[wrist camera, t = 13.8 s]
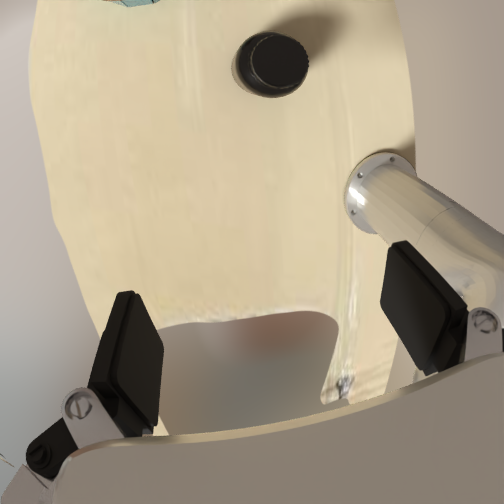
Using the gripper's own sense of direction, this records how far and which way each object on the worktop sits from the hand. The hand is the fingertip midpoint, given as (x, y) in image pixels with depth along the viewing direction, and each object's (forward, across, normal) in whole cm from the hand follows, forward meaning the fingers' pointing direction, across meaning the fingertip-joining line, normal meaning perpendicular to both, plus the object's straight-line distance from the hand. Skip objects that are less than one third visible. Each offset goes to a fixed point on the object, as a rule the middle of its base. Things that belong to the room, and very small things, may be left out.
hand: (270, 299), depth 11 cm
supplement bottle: (+28, -5, -9) cm, 30 cm away
